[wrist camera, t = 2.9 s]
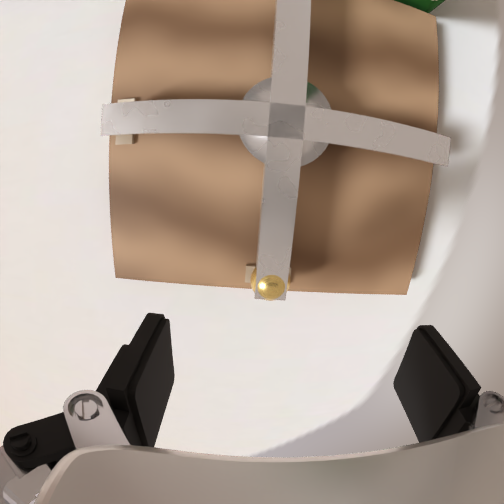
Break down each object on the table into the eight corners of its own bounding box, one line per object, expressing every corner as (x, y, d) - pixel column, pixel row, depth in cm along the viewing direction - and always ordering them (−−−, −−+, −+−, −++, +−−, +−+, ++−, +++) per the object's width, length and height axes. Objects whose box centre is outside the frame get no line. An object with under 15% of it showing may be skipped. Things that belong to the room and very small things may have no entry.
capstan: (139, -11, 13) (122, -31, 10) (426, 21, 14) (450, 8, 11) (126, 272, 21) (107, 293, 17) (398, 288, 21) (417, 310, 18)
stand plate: (138, -7, 15) (128, -19, 13) (423, 23, 16) (437, 15, 14) (125, 267, 23) (114, 279, 21) (396, 283, 23) (407, 296, 21)
